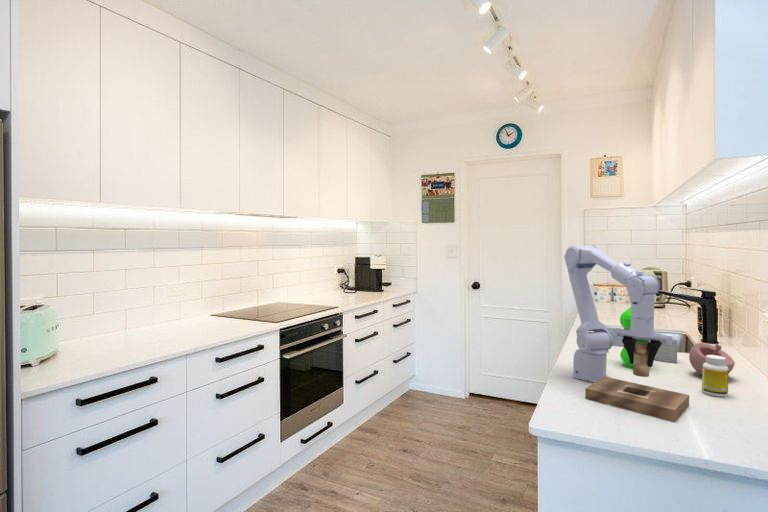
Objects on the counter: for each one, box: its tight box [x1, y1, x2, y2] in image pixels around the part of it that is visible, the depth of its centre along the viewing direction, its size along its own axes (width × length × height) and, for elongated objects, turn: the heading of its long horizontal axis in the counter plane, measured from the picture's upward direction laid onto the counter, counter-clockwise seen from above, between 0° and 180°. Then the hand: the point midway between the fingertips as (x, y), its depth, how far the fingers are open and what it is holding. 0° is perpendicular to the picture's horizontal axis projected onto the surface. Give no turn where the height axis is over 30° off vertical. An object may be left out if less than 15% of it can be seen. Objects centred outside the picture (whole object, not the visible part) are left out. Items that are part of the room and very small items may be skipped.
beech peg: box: [632, 342, 650, 378], centre depth 125 cm, size 4×4×9 cm
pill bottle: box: [701, 355, 730, 398], centre depth 129 cm, size 6×6×11 cm
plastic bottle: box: [619, 301, 650, 369], centre depth 156 cm, size 10×10×25 cm
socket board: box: [584, 376, 690, 422], centre depth 123 cm, size 22×15×3 cm
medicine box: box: [654, 336, 678, 364], centre depth 164 cm, size 8×4×9 cm, turn 58°
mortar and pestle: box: [688, 342, 736, 375], centre depth 144 cm, size 12×12×12 cm
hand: (641, 364), depth 125 cm, fingers closed on beech peg, 4 cm apart
